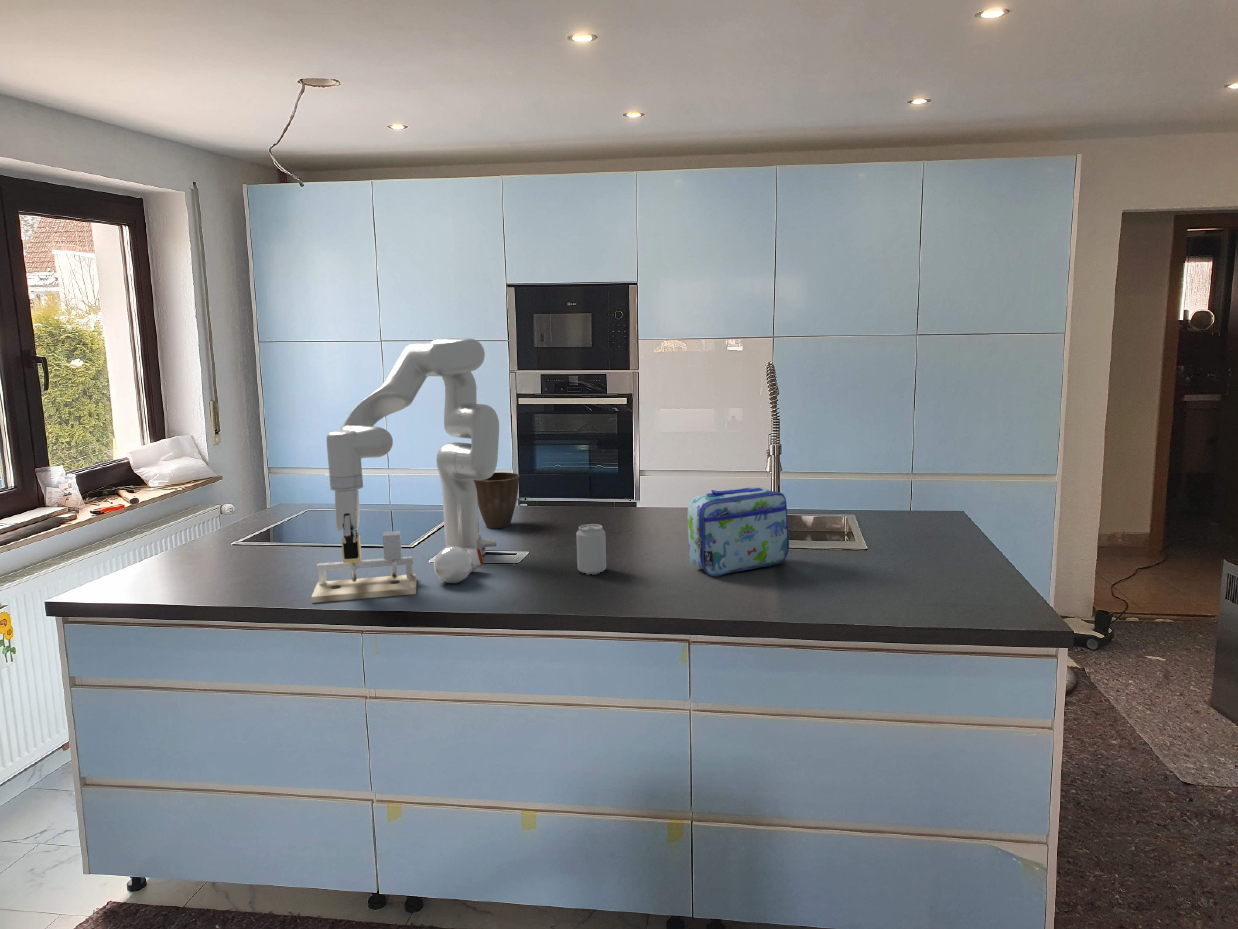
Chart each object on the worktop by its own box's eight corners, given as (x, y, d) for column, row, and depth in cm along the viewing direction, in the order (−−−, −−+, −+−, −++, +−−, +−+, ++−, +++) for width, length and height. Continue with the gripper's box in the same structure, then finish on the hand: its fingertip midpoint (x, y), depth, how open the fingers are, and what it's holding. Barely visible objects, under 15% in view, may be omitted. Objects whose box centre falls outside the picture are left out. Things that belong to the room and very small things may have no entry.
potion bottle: (438, 593, 217) (468, 583, 231) (466, 573, 214) (495, 563, 228) (419, 562, 218) (450, 553, 232) (447, 541, 215) (477, 533, 229)
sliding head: (364, 575, 220) (360, 530, 218) (362, 583, 214) (358, 537, 212) (347, 576, 220) (344, 532, 218) (345, 585, 213) (341, 539, 211)
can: (581, 576, 223) (579, 530, 221) (574, 568, 230) (573, 524, 228) (609, 573, 225) (608, 528, 223) (602, 565, 232) (601, 521, 230)
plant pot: (468, 523, 282) (466, 474, 280) (513, 518, 289) (510, 470, 286) (481, 533, 269) (479, 482, 266) (528, 527, 275) (525, 477, 272)
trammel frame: (414, 575, 223) (410, 527, 221) (413, 583, 216) (410, 534, 214) (319, 583, 218) (314, 534, 216) (315, 591, 212) (311, 541, 209)
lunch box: (702, 580, 218) (701, 497, 214) (683, 569, 228) (682, 489, 224) (792, 567, 227) (793, 487, 224) (771, 556, 237) (771, 480, 233)
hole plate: (416, 579, 224) (416, 573, 224) (415, 594, 213) (415, 587, 212) (318, 587, 219) (317, 581, 219) (311, 603, 208) (311, 596, 208)
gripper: (333, 476, 218) (339, 548, 221) (326, 489, 202) (332, 566, 205) (364, 474, 220) (370, 545, 223) (360, 487, 203) (365, 564, 207)
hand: (352, 555), depth 214 cm, fingers closed on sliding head, 4 cm apart
